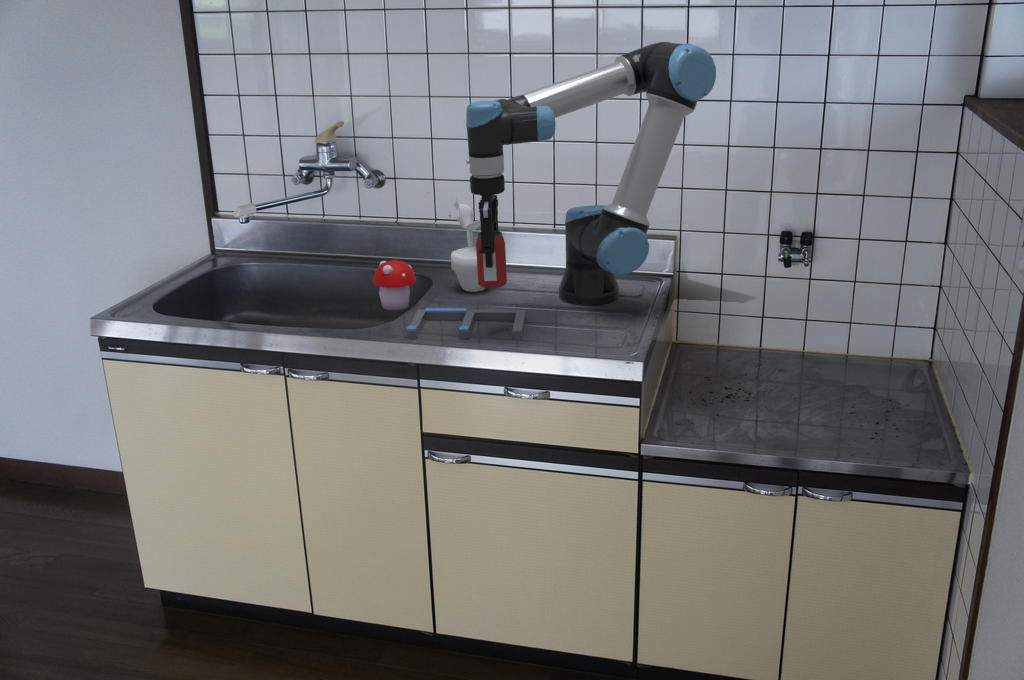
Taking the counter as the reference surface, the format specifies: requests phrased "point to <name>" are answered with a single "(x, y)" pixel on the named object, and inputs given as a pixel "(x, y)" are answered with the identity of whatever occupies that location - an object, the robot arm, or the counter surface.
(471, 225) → the potted plant
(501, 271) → the beer can
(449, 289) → the counter surface
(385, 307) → the mushroom
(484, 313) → the duct comb
